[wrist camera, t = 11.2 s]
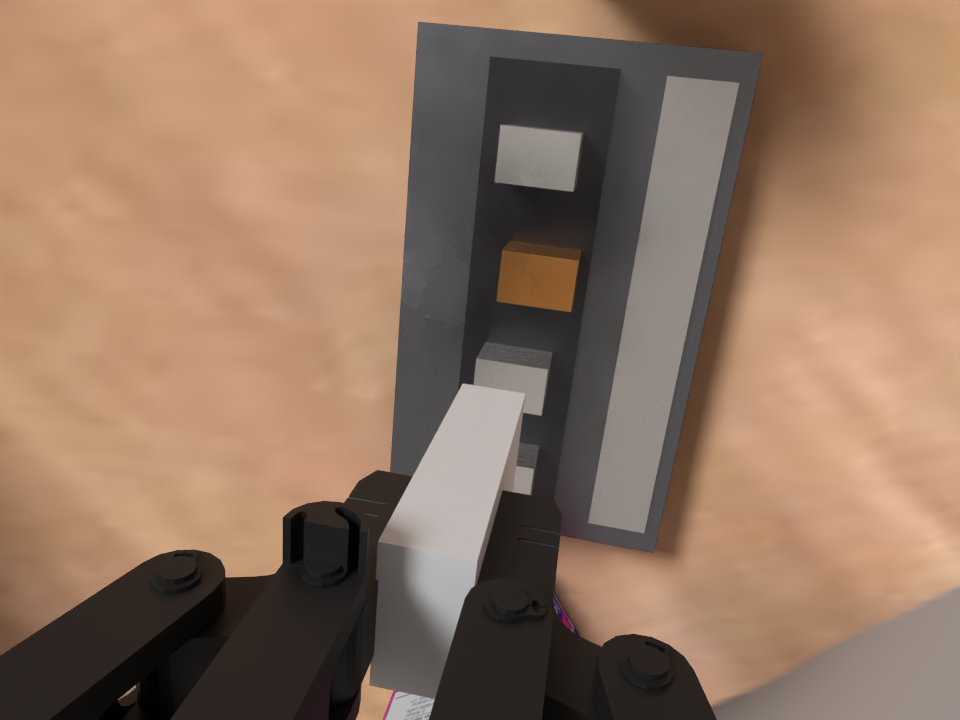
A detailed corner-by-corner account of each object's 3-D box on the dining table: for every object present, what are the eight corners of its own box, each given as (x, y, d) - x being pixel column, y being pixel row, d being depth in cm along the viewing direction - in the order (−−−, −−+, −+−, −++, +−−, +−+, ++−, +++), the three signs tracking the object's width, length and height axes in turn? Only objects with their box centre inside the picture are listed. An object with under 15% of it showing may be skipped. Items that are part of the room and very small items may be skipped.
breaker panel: (651, 527, 32) (658, 605, 27) (400, 481, 34) (362, 546, 29) (752, 57, 25) (787, 42, 20) (431, 28, 27) (388, 7, 22)
